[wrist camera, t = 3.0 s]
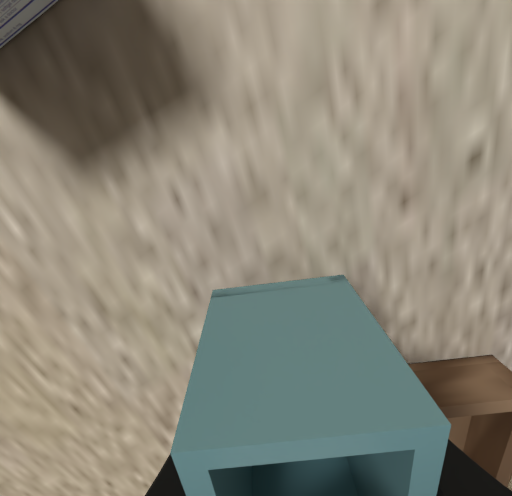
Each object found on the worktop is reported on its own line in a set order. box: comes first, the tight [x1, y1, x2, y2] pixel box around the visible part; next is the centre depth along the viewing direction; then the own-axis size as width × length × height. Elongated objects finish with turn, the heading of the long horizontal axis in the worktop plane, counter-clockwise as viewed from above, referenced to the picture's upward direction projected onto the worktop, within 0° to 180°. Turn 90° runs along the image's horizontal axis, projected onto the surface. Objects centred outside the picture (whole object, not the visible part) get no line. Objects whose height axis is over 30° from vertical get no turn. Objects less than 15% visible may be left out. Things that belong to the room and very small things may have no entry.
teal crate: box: [170, 275, 451, 496], centre depth 9 cm, size 5×8×6 cm, turn 7°
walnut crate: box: [408, 355, 512, 487], centre depth 19 cm, size 10×13×3 cm
